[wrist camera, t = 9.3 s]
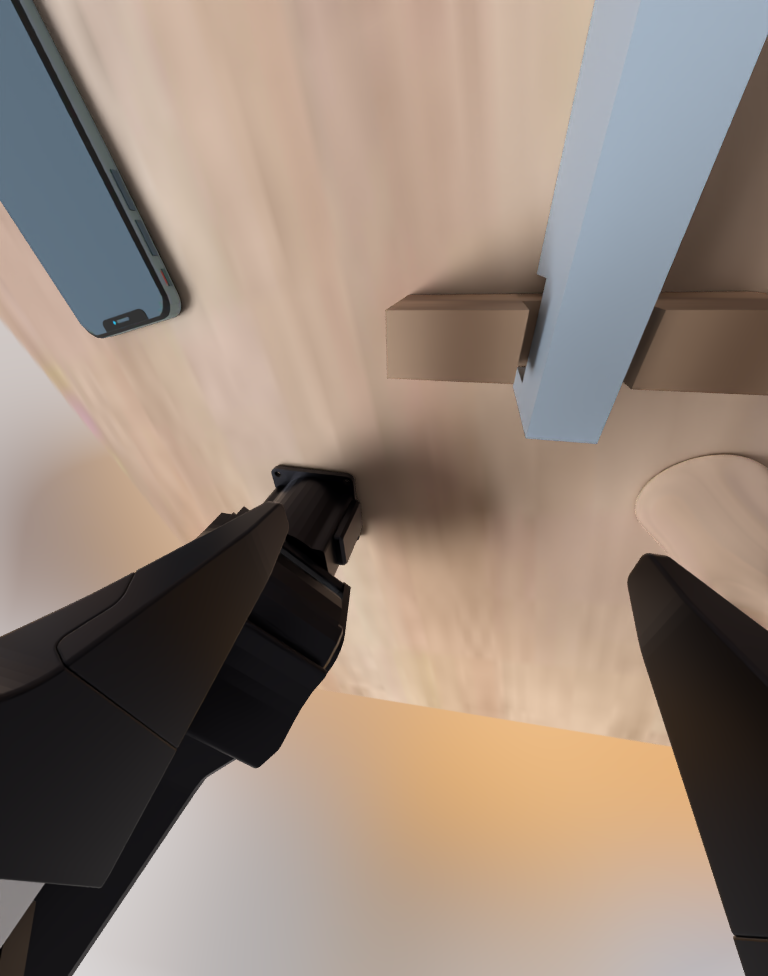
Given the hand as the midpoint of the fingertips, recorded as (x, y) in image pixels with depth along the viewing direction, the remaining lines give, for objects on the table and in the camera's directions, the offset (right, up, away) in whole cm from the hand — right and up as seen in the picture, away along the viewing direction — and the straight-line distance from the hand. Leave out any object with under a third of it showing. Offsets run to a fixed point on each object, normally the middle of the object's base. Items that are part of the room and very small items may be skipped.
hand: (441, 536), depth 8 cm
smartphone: (-18, +18, +8) cm, 27 cm away
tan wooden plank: (+7, +9, +7) cm, 13 cm away
